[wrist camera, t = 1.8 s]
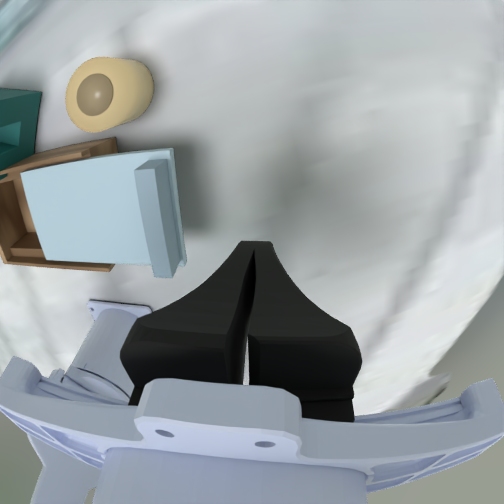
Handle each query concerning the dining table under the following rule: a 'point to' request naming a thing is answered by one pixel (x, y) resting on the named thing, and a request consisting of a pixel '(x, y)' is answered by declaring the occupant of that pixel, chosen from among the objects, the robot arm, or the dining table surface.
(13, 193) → the pencil box
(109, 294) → the dining table surface
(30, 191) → the lid
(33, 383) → the robot arm
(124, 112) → the tape roll
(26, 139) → the bracket
